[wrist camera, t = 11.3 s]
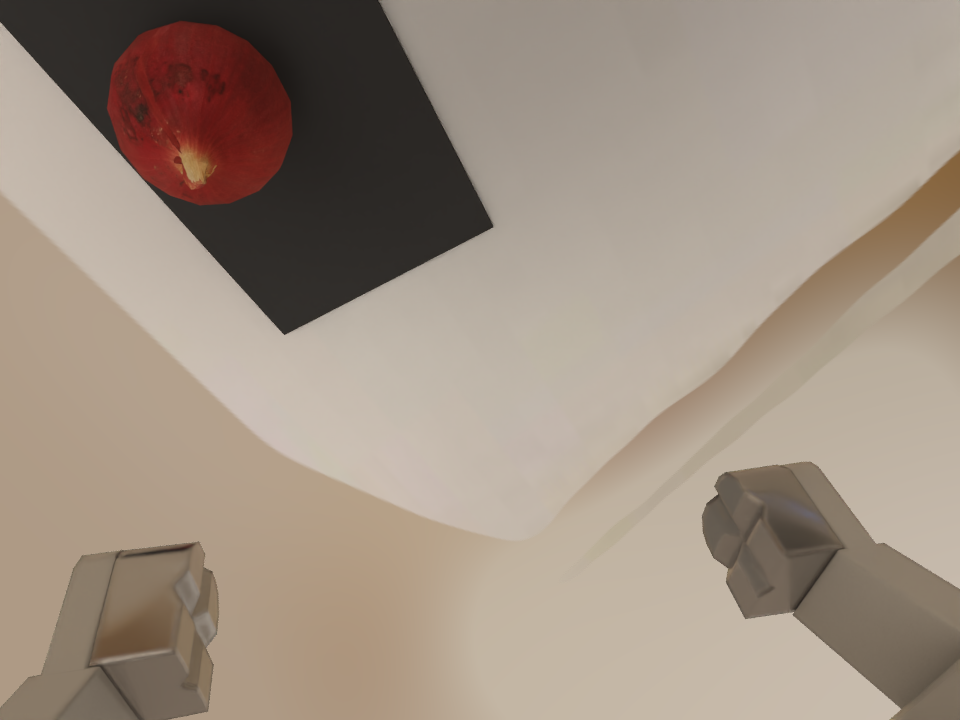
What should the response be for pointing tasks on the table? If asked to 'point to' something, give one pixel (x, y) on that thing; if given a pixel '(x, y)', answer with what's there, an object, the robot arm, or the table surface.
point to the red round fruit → (199, 112)
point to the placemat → (293, 143)
